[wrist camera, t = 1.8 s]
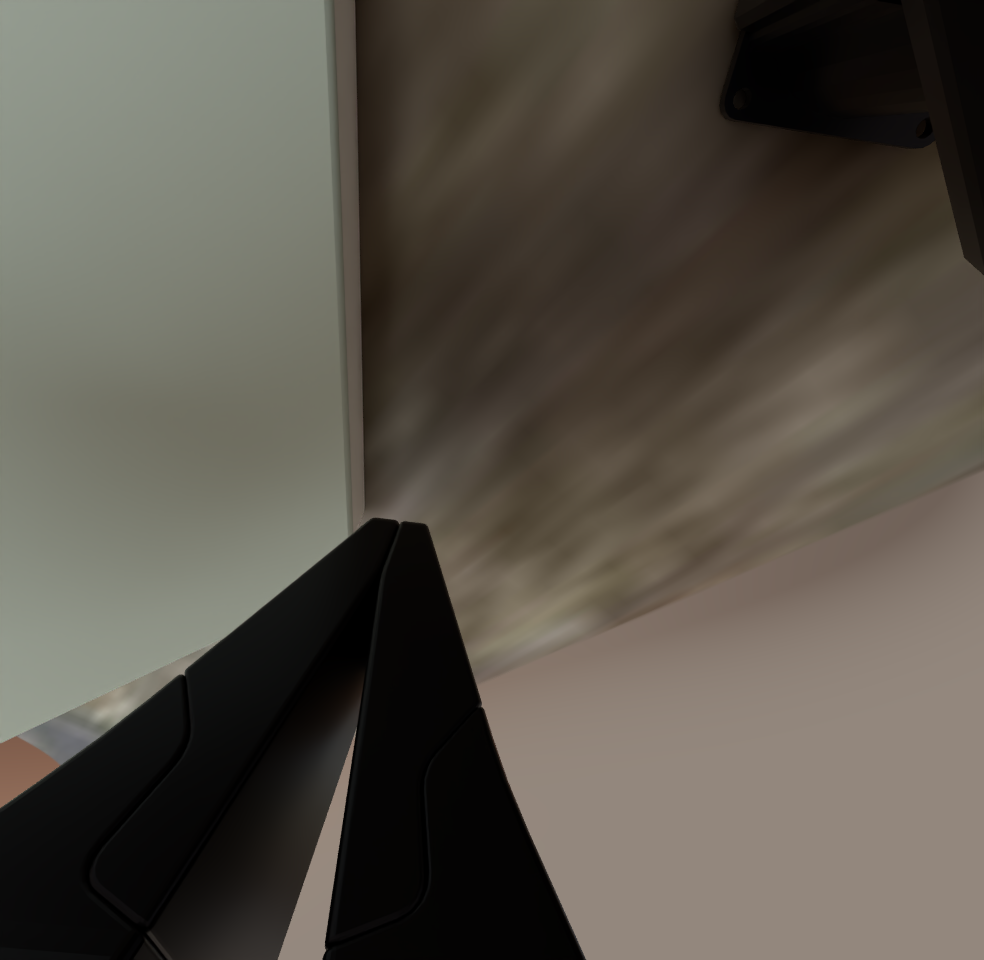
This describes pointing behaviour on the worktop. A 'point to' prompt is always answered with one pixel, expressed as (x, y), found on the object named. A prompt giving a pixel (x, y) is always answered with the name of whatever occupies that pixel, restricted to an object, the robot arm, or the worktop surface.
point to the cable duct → (351, 238)
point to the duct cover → (163, 332)
